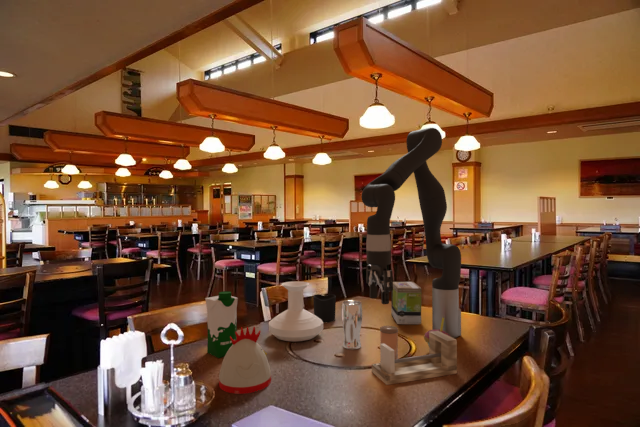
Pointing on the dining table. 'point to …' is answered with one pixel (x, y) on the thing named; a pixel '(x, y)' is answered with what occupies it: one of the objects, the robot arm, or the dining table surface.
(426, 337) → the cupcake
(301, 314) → the white vase
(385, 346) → the pusher
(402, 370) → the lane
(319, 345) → the dining table surface
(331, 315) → the pen holder
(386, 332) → the jar
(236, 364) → the kitchen timer
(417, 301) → the tea box
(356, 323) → the beer glass
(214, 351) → the milk carton
